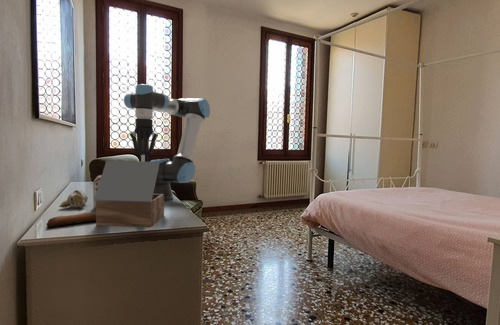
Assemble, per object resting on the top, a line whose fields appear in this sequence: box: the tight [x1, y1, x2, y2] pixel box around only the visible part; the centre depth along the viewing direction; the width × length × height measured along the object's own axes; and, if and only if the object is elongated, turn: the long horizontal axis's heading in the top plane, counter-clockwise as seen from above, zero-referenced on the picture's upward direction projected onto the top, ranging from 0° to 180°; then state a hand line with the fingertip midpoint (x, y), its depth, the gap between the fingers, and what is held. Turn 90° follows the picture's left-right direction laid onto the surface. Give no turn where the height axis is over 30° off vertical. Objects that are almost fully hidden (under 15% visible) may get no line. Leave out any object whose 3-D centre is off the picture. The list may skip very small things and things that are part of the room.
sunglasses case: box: [45, 212, 96, 230], centre depth 123 cm, size 18×7×7 cm
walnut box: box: [95, 194, 165, 228], centre depth 129 cm, size 18×22×10 cm
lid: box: [94, 160, 159, 202], centre depth 124 cm, size 18×22×1 cm
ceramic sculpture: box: [59, 189, 89, 209], centre depth 150 cm, size 11×9×15 cm
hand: (143, 168), depth 142 cm, fingers closed
